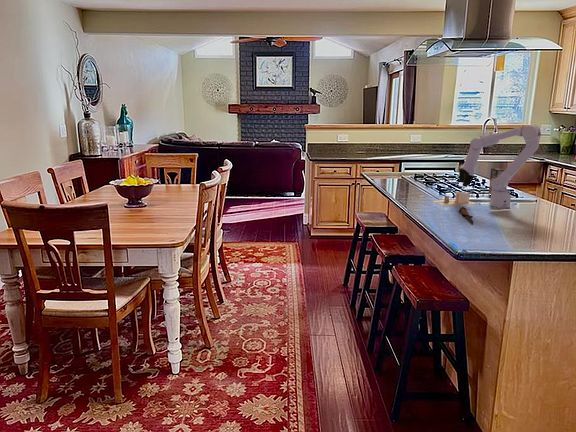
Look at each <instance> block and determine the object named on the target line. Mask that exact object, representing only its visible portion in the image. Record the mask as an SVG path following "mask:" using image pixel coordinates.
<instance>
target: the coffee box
mask: <svg viewBox="0 0 576 432" xmlns="http://www.w3.org/2000/svg"><path fill="white" fill-rule="evenodd" d="M506 169H507V168H506ZM506 169H504V168H503V167H497V168H496V167H493V168H491V169H490V175H489V176H490V178H489V186H488V194H489V193H490V194H491V191H492V186H491V182H492V180H493V179H495V178H497V177H499V175H501V174H502V173H503V172H504V171H505V170H506Z"/></svg>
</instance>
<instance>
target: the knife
mask: <svg viewBox="0 0 576 432" xmlns="http://www.w3.org/2000/svg"><path fill="white" fill-rule="evenodd" d="M459 213H460V214H461V217H462V218H465V219H466V220H467V222H468V223H469V224H470V225H471V226H473V225H474V220H473V218H474V217H473V215H470V213H469V212H468V211H467V208H466V207H463V206H462V207H460V208H459Z"/></svg>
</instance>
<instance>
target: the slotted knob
mask: <svg viewBox="0 0 576 432" xmlns="http://www.w3.org/2000/svg"><path fill="white" fill-rule="evenodd" d="M470 194H471V193H470V192H467V191H456V192H455V196H454V197H455V198H454V199H455V201H456V202H459V203H465V202H469V201H470Z"/></svg>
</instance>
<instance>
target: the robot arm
mask: <svg viewBox="0 0 576 432" xmlns="http://www.w3.org/2000/svg"><path fill="white" fill-rule="evenodd" d="M514 136H516V137H522V139H523V140H524V142H525V147H524V148H523V150H521V152H520V153H519V154H518V155H517V156H516V157H515V158H514V160H512V162H510V163H509V165H508V166H507V167H506V170H505V171H504V172H503V173H502V174H501V175H499V177H497V178H495V179H493V180H492V182H491V186H492V191H491V196H490V201H489V204H490V206H492V207H497V208H498V209H505V208H506V210H509V209H511V208H510V207H511V198H512V197H511V196H512V195H511V194H510V192H508V188H507V187H508V186H509V183H510V181H511V180H512V178H513V176H514V175H515V174H517V172H518V171H519V170H520V169H521V168H522V167H523V166H524V164H525V163H526V162H528V160H529V159H530V158H531V157H532V155H534V154H535V153H536V151H538V149H539V147H540V140H541V136H542V132H541V129H540V127H539V126H538V125H536V124H531V125H530V124H529V125H526V126H519V127H514V128H511V129H509V130H506V131H503V132H500V133H497V132H491V131H490V132H488V134H485V135H479V137H475V138H473V139H471V141H470V143H469V144H470V145H469V149H468V151H467V152H468V153H467V154H466V156H465V157H466V158H465V160H464V162H463V164H462V165H461V166H460V168H458V182H459V183H462V187H465V188H467V187H468V186H469V184H470V183H471V182H472V181H473V180H474V179H475V178H476V175H475V169H476V165H477V163H478V161H479V157H480V154H481V151H482V149H483V148H487V147H489V146H493V145H496V144H498V143H499V142H500V141H501V140H505V139H507V138H511V137H514Z"/></svg>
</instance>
